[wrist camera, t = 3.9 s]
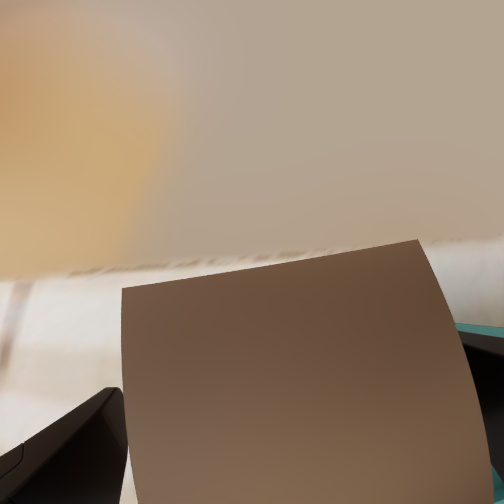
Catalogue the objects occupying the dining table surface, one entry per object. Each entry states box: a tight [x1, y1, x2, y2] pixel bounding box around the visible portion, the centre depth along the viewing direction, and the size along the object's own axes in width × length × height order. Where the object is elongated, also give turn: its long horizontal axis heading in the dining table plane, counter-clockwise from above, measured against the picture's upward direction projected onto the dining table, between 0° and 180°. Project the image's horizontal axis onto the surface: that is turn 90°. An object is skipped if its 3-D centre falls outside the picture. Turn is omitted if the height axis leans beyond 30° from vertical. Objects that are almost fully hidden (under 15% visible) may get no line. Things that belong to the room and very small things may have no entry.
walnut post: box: [121, 239, 494, 504], centre depth 8 cm, size 5×5×11 cm
